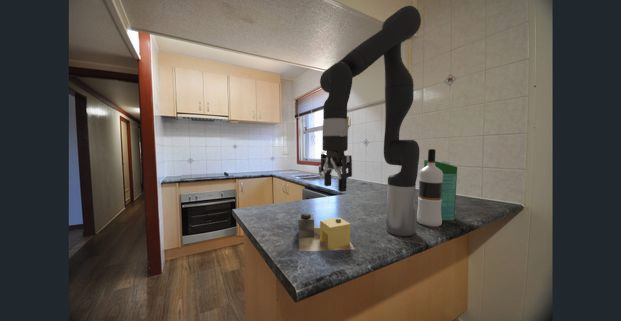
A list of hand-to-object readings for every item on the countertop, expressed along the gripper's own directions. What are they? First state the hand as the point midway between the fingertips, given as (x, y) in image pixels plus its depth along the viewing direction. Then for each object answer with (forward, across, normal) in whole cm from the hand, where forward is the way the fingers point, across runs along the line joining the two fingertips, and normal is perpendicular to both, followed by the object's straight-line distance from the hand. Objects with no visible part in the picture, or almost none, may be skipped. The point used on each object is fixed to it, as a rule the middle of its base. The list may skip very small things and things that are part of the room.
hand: (334, 188), depth 63 cm
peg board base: (+18, -4, -2) cm, 18 cm away
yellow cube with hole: (+17, 0, 0) cm, 17 cm away
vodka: (+19, -1, +45) cm, 49 cm away
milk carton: (+19, -5, +56) cm, 59 cm away
